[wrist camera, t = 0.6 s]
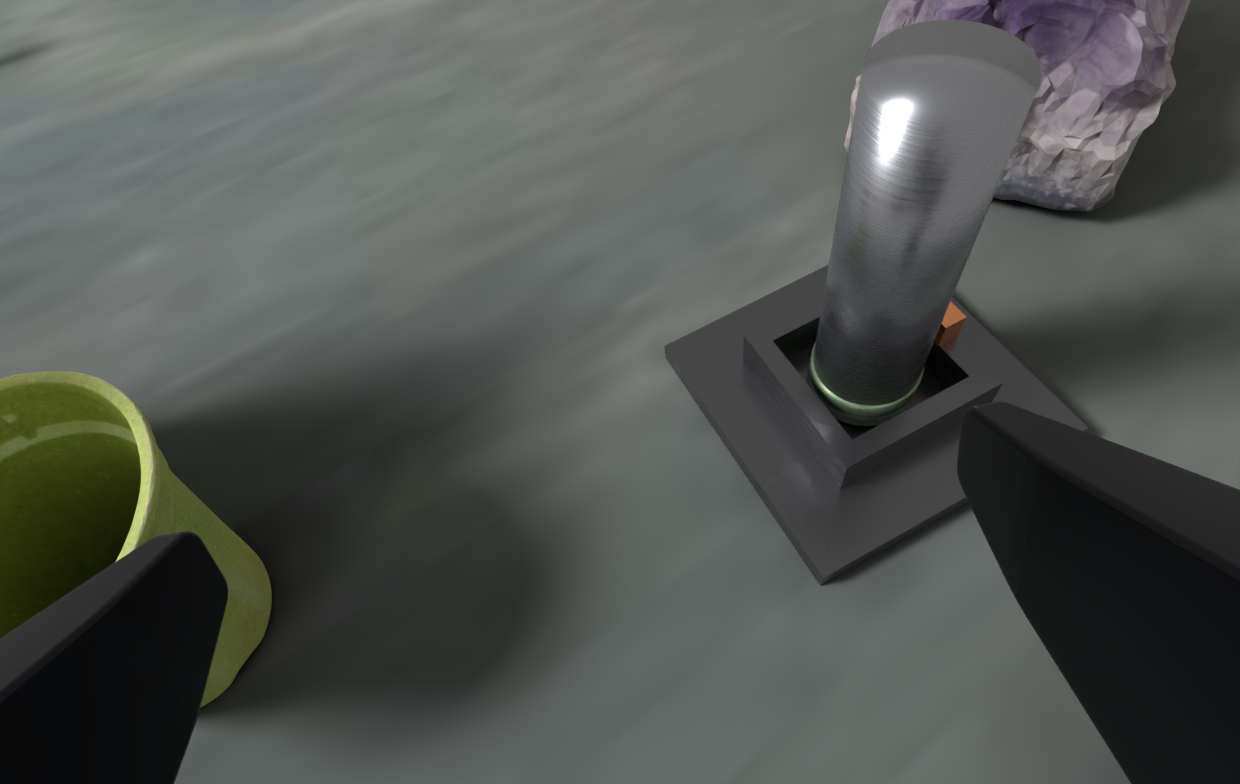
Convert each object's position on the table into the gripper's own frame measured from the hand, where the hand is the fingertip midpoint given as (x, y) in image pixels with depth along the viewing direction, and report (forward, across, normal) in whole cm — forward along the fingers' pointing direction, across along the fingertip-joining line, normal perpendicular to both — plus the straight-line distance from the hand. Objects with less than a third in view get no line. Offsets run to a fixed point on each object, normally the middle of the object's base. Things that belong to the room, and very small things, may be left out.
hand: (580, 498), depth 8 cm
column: (+15, -8, +9) cm, 19 cm away
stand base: (+15, -8, +9) cm, 19 cm away
